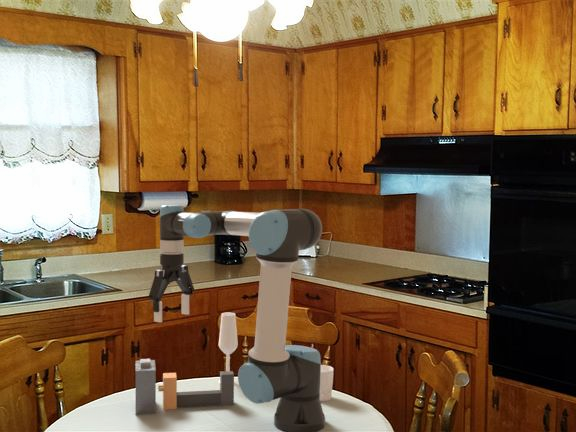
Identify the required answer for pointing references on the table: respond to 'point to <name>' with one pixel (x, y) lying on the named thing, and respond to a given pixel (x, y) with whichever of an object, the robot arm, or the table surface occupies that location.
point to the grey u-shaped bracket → (145, 386)
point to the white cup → (326, 382)
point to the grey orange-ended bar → (197, 393)
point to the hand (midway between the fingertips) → (172, 317)
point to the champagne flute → (228, 337)
